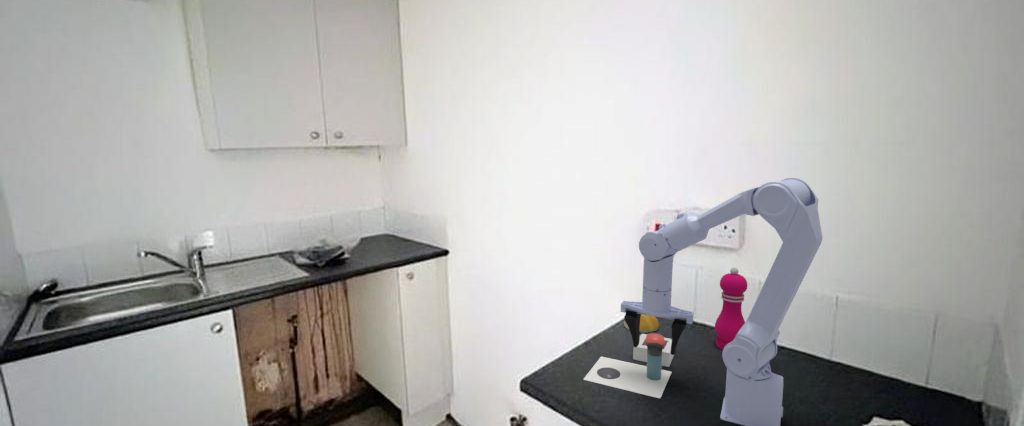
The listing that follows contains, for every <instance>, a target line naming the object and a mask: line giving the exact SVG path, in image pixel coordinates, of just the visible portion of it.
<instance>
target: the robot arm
mask: <svg viewBox="0 0 1024 426" xmlns="http://www.w3.org/2000/svg"><path fill="white" fill-rule="evenodd" d="M818 209H819V198H818V196H817V195H816V193H815V192H814V190H813V189H812V187H810V185H809V184H808V183H807V182H806V181H804V180H803V179H800V178H798V177H788V178H784V179H781V180H778V181H775V180H774V181H768V182H766V183H763V184H761V185H760V186H755V187H752V188H750V189H747V190H744V191H741V192H739V193H737V194H735V195H734V196H731V197H730V198H728V199H727V200H725V201H723V202H721V203H720V204H718V205H715V206H714V207H712V208H710V209H709V210H706V211H704V212H703V213H701V214H699V213H695V212H689V213H687V212H686V211H685V212H681V213H679V214H678V215H677V219H674V220H673V221H670V222H669V223H667V224H666V223H663V224H660V225H659V226H658V230H654V231H647V232H646V233H645V234H643V235H642V237H640V239H639V242H638V248H639V252H640V254H641V255H642V257H643V272H642V273H643V274H642V275H643V276H642V299H641V301H629V300H623V301H622V302H621V303H620V313H624V314H625V315H623V316H624V317H623V318H624V320H625V321H626V323H627V325H628V327H629V330H628V331H629V332H630V335H631V338H632V343H633V346H634V347H637V346H638V345H639V340H640V336H641V333H639V327H640V317H641V314H643V315H648V316H654V317H656V318H660V319H661V318H662V319H667V320H673V322H672V323H671V339H672V344H671V354H672V355H674V354H675V355H676V352H677V347H678V343H679V339H680V338H681V335H682V333H683V332H684V330H685V328H686V326H687V324H689V325H693V322H694V311H689V310H685V309H681V308H678V307H675V306H672V291H673V288H672V285H673V267H674V266H673V265H674V264H673V263H674V257H675V255H676V254H677V253H678V252H680V251H683V250H685V249H687V248H689V247H690V246H693V245H695V244H698V243H701V242H703V241H704V240H706V239H707V236H708V233H709V232H710V230H711V229H713V228H716V227H718V226H721V225H722V224H725V223H727V222H729V221H732V220H733V219H736V218H738V217H740V216H743V215H746V216H750V217H751V216H752V217H754V216H758V215H759V216H760V217H761V218H762V219H763V220H764V221H766V223H768V224H769V225H770V226H771V227H772V228H774V230H775V232H776V233H777V234H778V236H779V238H780V240H781V241H782V244H781V246H780V249H779V250H778V252H777V255H776V257H775V259H774V262H773V263H772V266H771V267H770V269H769V272H768V274H767V277H765V278H766V279H765V281H764V282H763V284H762V287H761V289H760V292H759V294H758V296H757V298H756V299H755V302H754V303H753V306H752V309H751V311H750V313H749V315H748V317H747V319H746V320H745V324H744V325H743V326H742V328H741V329H740V330H739V332H738V333H737V335H736V337H735V339H734V340H733V341H732V342H730V343H728V344H727V345H726V346H725V347H724V349H723V350H722V352H721V353H722V355H721V357H722V360H723V363H724V366H725V367H726V379H725V380H726V381H725V394H724V397H723V401H722V404H721V405H722V407H721V411H720V416H719V418H720V420H721V421H726V422H730V423H733V424H737V425H741V426H781V419H782V418H783V417H784V406H783V397H784V396H783V395H784V394H783V393H784V377H783V375H779V374H776V373H774V372H772V368H771V365H770V364H771V363H770V361H771V360H773V359H774V358H775V357H776V356H777V354H778V344H777V341H778V338H779V336H780V334H781V333H780V330H779V329H780V327H781V325H782V323H783V320H784V318H785V317H786V315H787V312H788V311H789V309H790V307H791V305H792V303H793V300H794V299H795V297H796V294H797V292H798V291H799V288H800V287H801V285H802V283H803V281H804V278H805V276H806V274H807V272H808V271H809V268H810V266H811V265H812V262H813V261H814V259H815V257H816V254H817V252H818V250H819V249H820V246H821V244H822V242H823V233H822V227H821V226H822V225H821V221H820V216H819V210H818ZM675 355H674V356H675Z"/></svg>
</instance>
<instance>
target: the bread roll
mask: <svg viewBox="0 0 1024 426" xmlns="http://www.w3.org/2000/svg"><path fill="white" fill-rule="evenodd" d="M623 326H624V327H625V329H627V330H628V331H630V330H629V327H628V325H627V323H626V321H625V319H624V321H623ZM659 327H660V322H659V320H658V318H657V317H654V316H648V315H643V314H641V317H640V327H639V333H640V334H649V333H653V332H656V331H658V330H659Z"/></svg>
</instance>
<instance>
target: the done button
mask: <svg viewBox="0 0 1024 426" xmlns="http://www.w3.org/2000/svg"><path fill="white" fill-rule="evenodd" d="M646 334H647V335H646V346H647V345H648V344H649V343H658V344H660V345H662V346H663V349H664V338H665V336H663V335H662V334H660V333H656V332H655V333H653V332H649V333H646Z"/></svg>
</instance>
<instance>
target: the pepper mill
mask: <svg viewBox="0 0 1024 426" xmlns="http://www.w3.org/2000/svg"><path fill="white" fill-rule="evenodd" d="M729 271H730V272H729V273H726V274H724V275H722V276H721V278H720V280H719V287H720V289H721V290H722V291H721V296H720V298H721V299H722V307H721V308H722V309H721V311H720V313H719V315H718V317H717V318H716V320H715V323H714V332H715V334H716V335H717V336H716V337H715V345H716V347H717V348H718V349H720V350H722V351H723V349H724V347H725V346H726V345H727V344H728V343H730V342H732V341H733V340H734V339H735V337H736V335H737V333H738V332H739V330H740V329H741V328H742V326H743V325H744V324H745V322H746V320H745V318H744V316H743V312H742V305H743V304H742V303H743V302H744V301H745V294H744V293H745V292H746V291H747V290H748V282H747V278H745V277H744V276H743V275H741V274H739V269H738V268H737V267H731V268H730V269H729Z"/></svg>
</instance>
